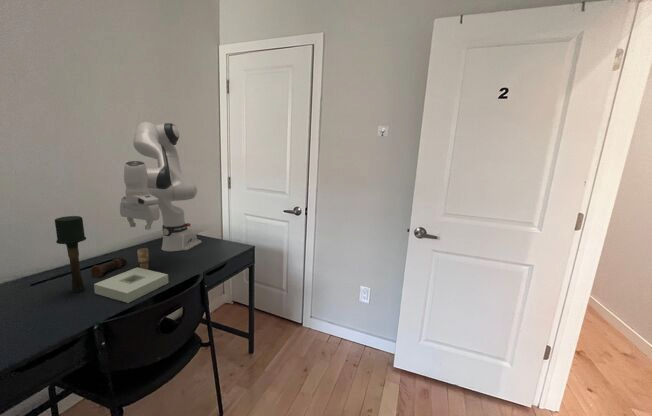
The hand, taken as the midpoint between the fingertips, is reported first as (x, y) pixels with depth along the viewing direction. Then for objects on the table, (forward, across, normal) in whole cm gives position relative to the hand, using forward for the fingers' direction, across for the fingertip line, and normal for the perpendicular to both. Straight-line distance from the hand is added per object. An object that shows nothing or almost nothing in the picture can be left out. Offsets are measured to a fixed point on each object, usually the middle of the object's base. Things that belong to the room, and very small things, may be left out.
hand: (140, 228), depth 127 cm
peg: (+21, 0, 0) cm, 21 cm away
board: (+22, +10, -13) cm, 27 cm away
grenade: (+22, -7, -23) cm, 32 cm away
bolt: (+22, -15, -5) cm, 27 cm away
